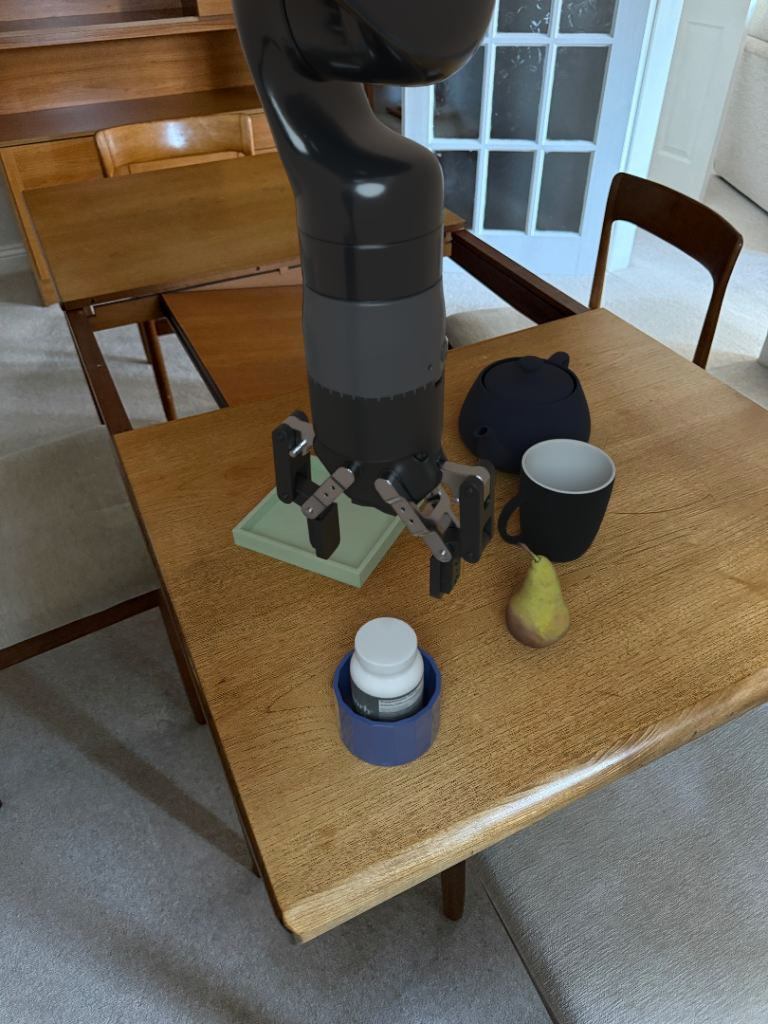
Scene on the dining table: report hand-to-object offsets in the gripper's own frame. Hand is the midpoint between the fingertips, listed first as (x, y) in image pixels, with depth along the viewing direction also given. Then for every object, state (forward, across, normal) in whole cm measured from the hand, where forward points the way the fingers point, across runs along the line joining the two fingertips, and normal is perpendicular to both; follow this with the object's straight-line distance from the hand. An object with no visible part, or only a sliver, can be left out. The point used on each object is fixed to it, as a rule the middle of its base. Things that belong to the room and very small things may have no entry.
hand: (383, 570), depth 50 cm
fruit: (+18, +8, +14) cm, 24 cm away
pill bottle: (+17, 0, 0) cm, 17 cm away
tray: (+18, -17, +20) cm, 31 cm away
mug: (+18, +5, +26) cm, 32 cm away
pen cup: (+17, 0, 0) cm, 17 cm away
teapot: (+18, -3, +41) cm, 45 cm away
